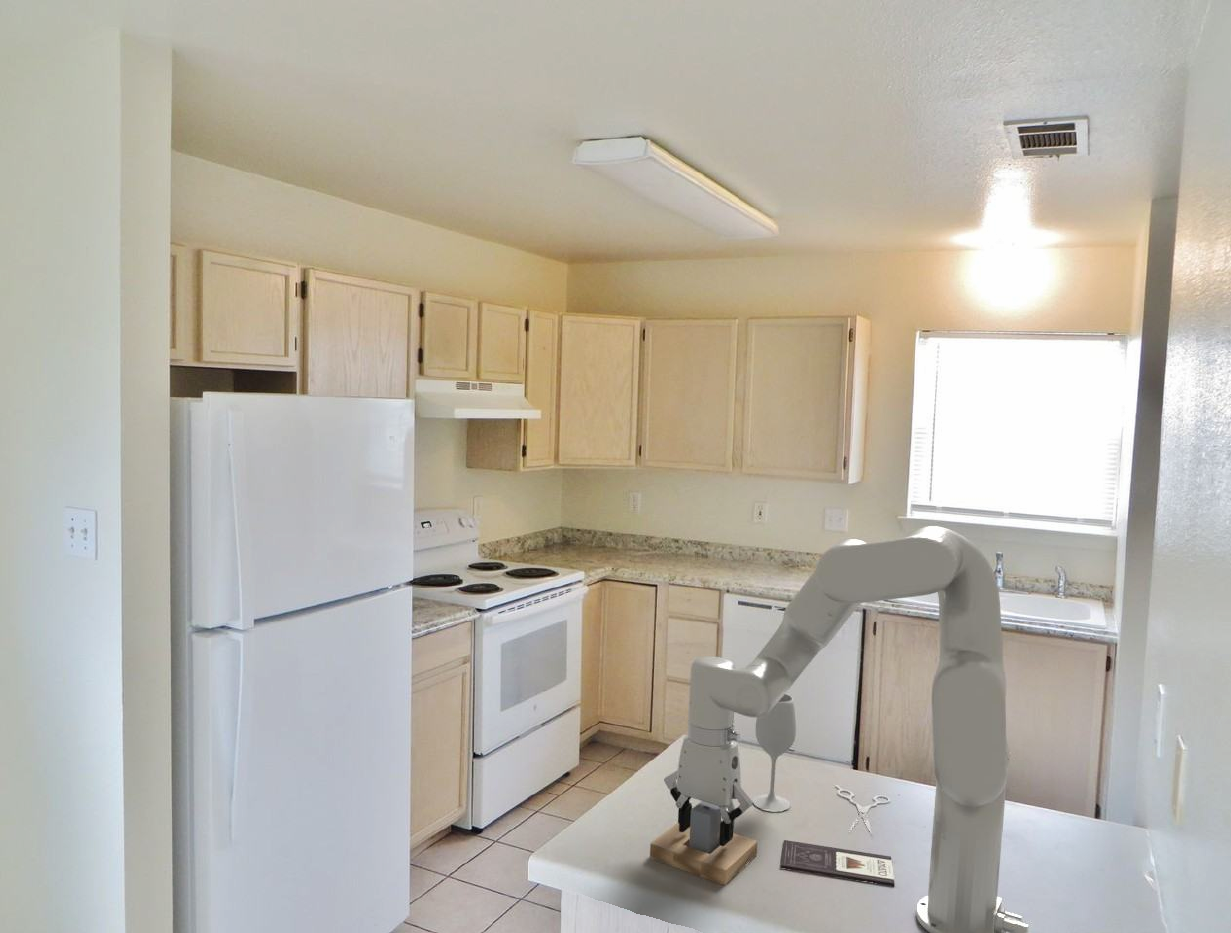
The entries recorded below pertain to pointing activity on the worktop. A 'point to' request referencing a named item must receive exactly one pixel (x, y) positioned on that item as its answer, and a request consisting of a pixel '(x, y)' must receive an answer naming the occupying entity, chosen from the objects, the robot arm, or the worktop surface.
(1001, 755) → the robot arm
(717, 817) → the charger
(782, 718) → the wineglass
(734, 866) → the socket board
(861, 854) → the chocolate bar
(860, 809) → the scissors
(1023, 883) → the worktop surface
